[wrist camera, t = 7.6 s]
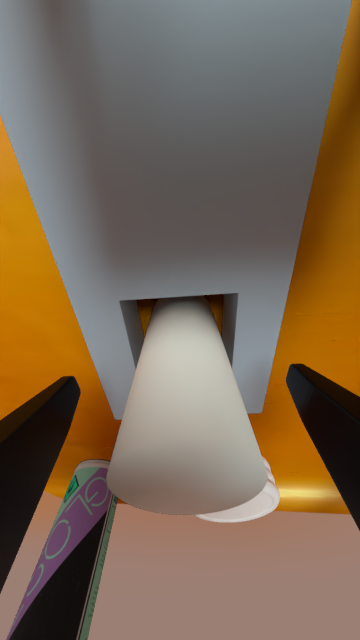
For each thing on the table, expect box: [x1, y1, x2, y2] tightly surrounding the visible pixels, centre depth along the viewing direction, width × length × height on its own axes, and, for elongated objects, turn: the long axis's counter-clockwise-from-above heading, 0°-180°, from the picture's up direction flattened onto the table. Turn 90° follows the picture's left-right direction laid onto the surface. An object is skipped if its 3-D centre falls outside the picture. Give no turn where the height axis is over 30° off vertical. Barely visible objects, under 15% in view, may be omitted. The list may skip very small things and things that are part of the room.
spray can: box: [6, 460, 118, 640], centre depth 14 cm, size 6×6×20 cm
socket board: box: [0, 0, 352, 420], centre depth 10 cm, size 18×10×3 cm, turn 4°
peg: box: [106, 295, 268, 515], centre depth 9 cm, size 4×4×9 cm
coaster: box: [194, 455, 280, 523], centre depth 21 cm, size 10×10×4 cm
